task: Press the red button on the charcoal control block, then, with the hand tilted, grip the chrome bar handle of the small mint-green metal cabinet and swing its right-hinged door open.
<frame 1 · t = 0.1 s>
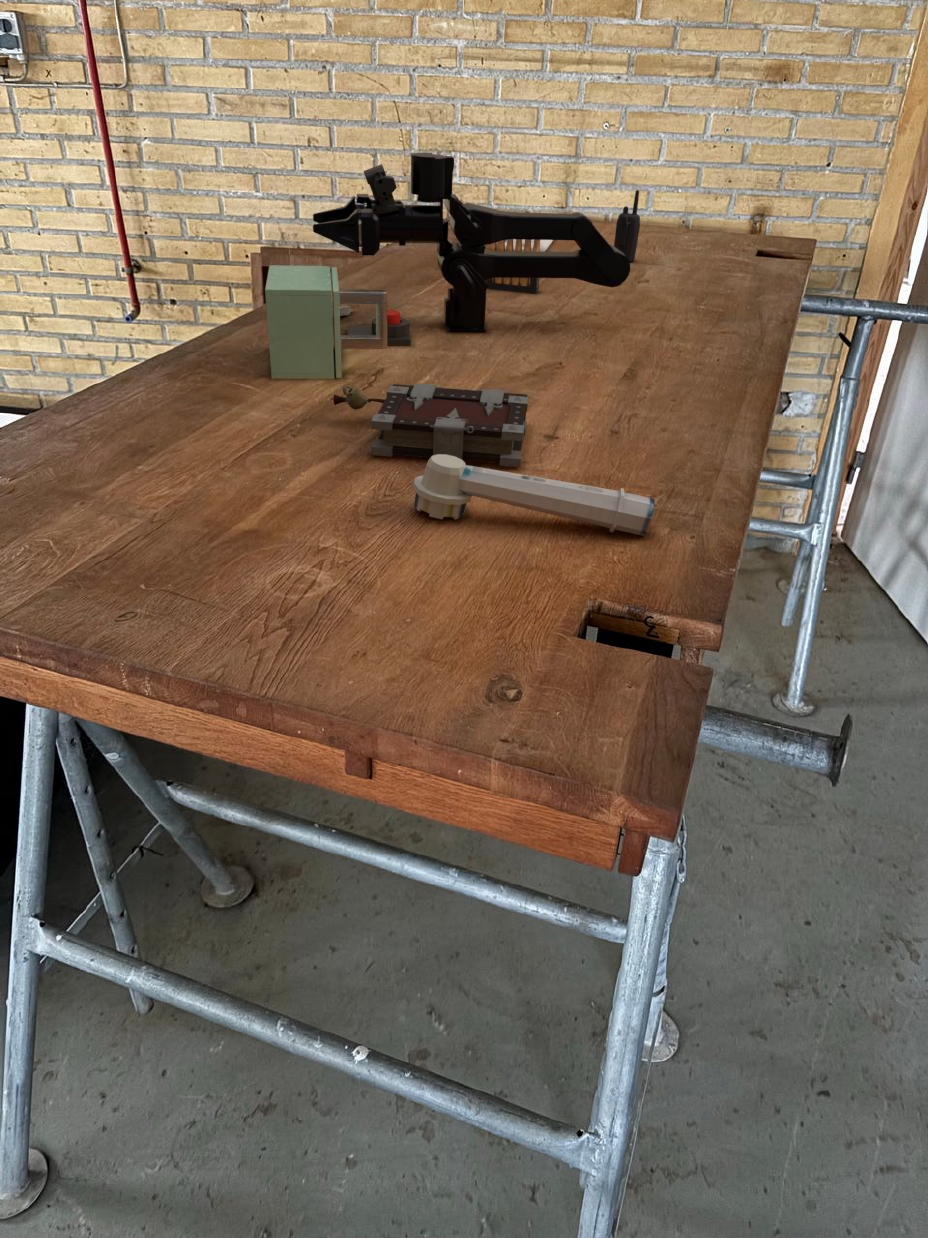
hand: (313, 222, 146), 17 cm above the table, tool horizontal, fingers open, 9 cm apart
cabinet door: (359, 321, 136), point 6 cm above the table, hinge at 0.0°
button block: (378, 339, 151), on the table
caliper: (328, 328, 155), on the table
release button: (390, 317, 149), point 3 cm above the table, slide at 0.1 cm
toothbrush head: (529, 522, 98), on the table
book: (425, 440, 116), on the table
two-way radio: (622, 261, 210), on the table
cabinet: (303, 363, 139), on the table
ammunition clip: (511, 290, 183), on the table
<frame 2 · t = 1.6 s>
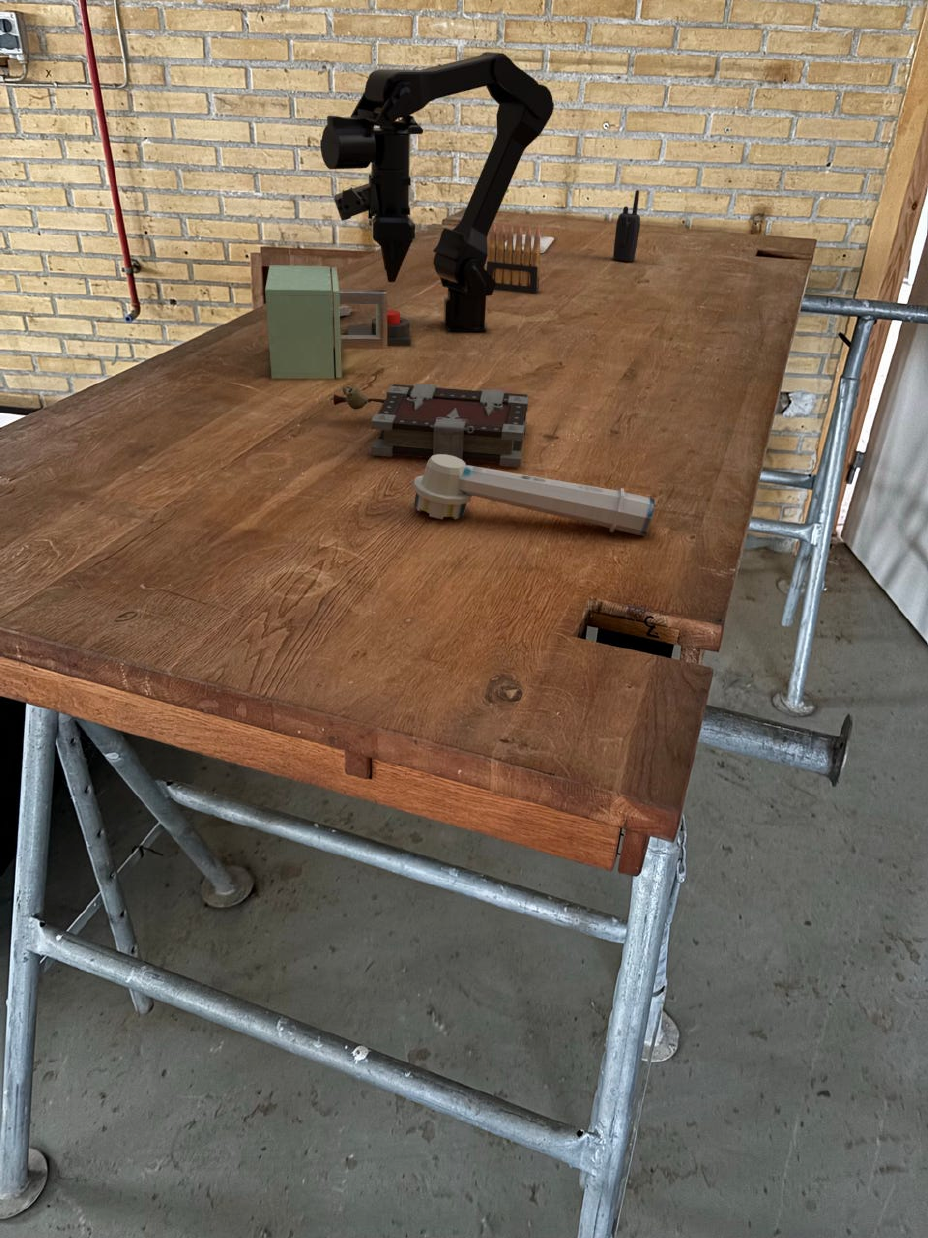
hand: (389, 275, 145), 10 cm above the table, tool pointing down, fingers open, 8 cm apart
nothing on the table moved.
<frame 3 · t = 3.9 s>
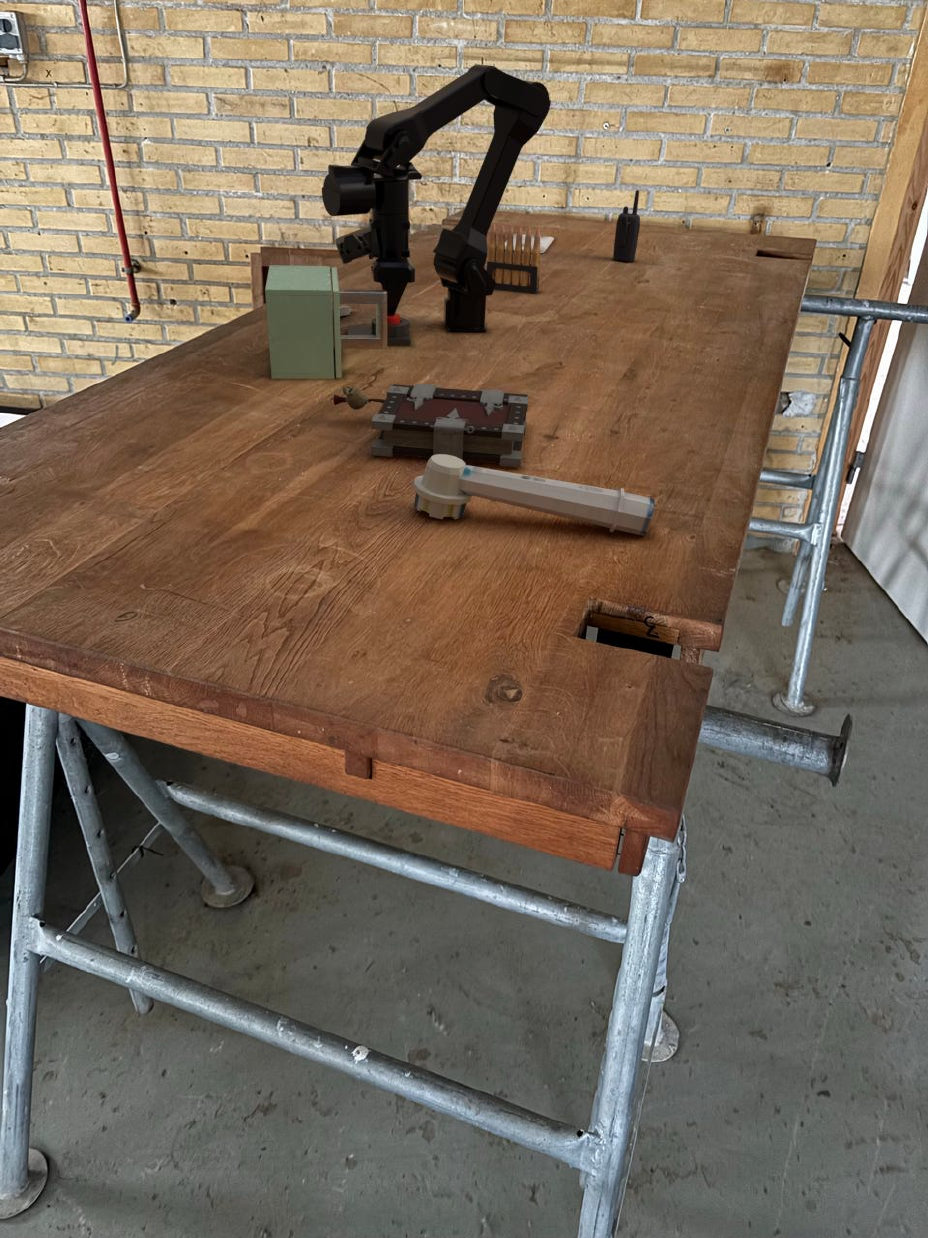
hand: (390, 315, 149), 4 cm above the table, tool pointing down, fingers closed, pressing on release button
release button: (390, 320, 149), point 3 cm above the table, slide at -0.3 cm, touching gripper
everything else where it was.
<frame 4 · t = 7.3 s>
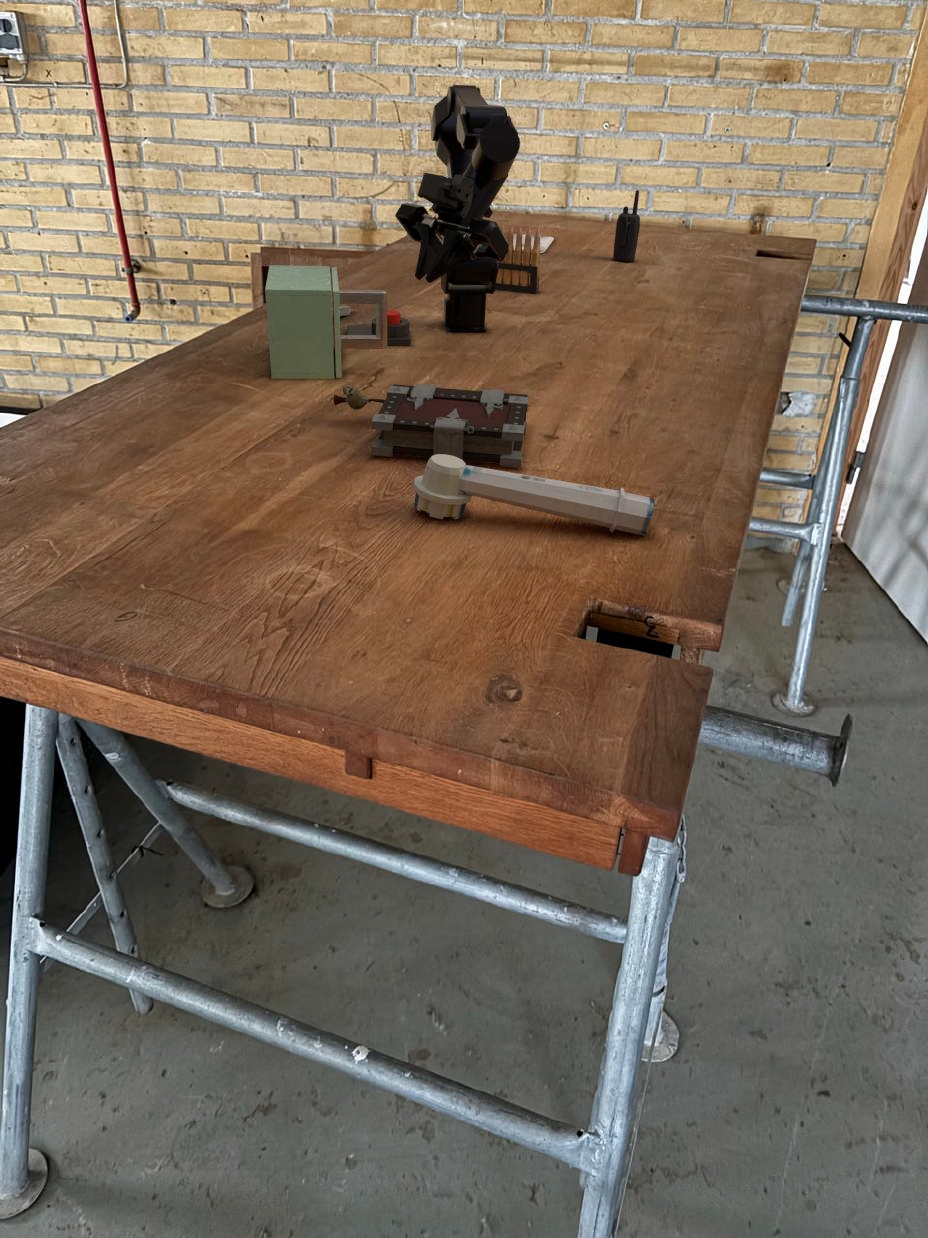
hand: (422, 279, 134), 13 cm above the table, tool tilted 45°, fingers closed
release button: (390, 317, 149), point 3 cm above the table, slide at 0.1 cm
everything else where it was.
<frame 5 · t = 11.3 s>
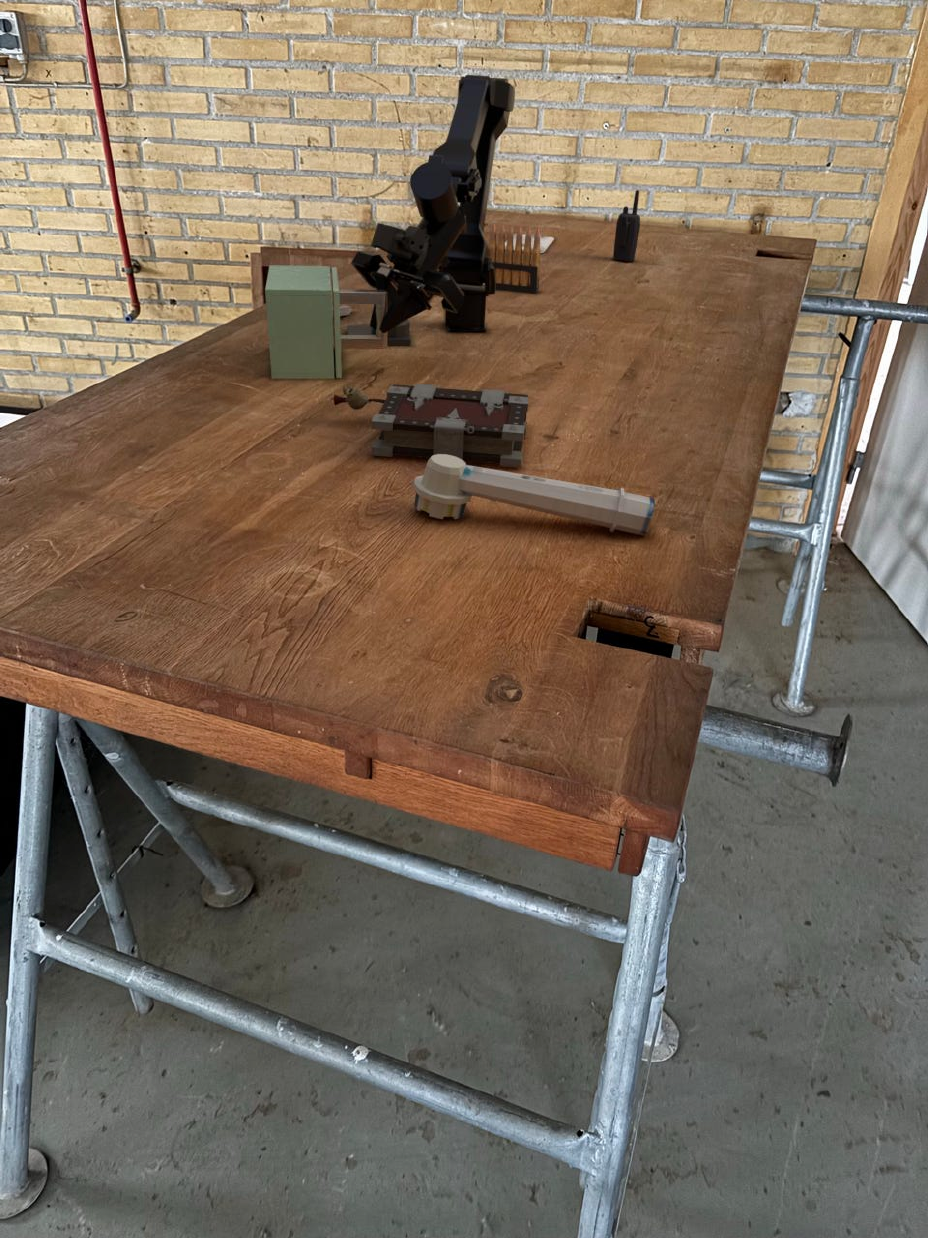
hand: (376, 329, 131), 7 cm above the table, tool tilted 45°, fingers closed on cabinet door, 2 cm apart
cabinet door: (359, 321, 136), point 6 cm above the table, hinge at 0.1°, touching gripper
everything else where it was.
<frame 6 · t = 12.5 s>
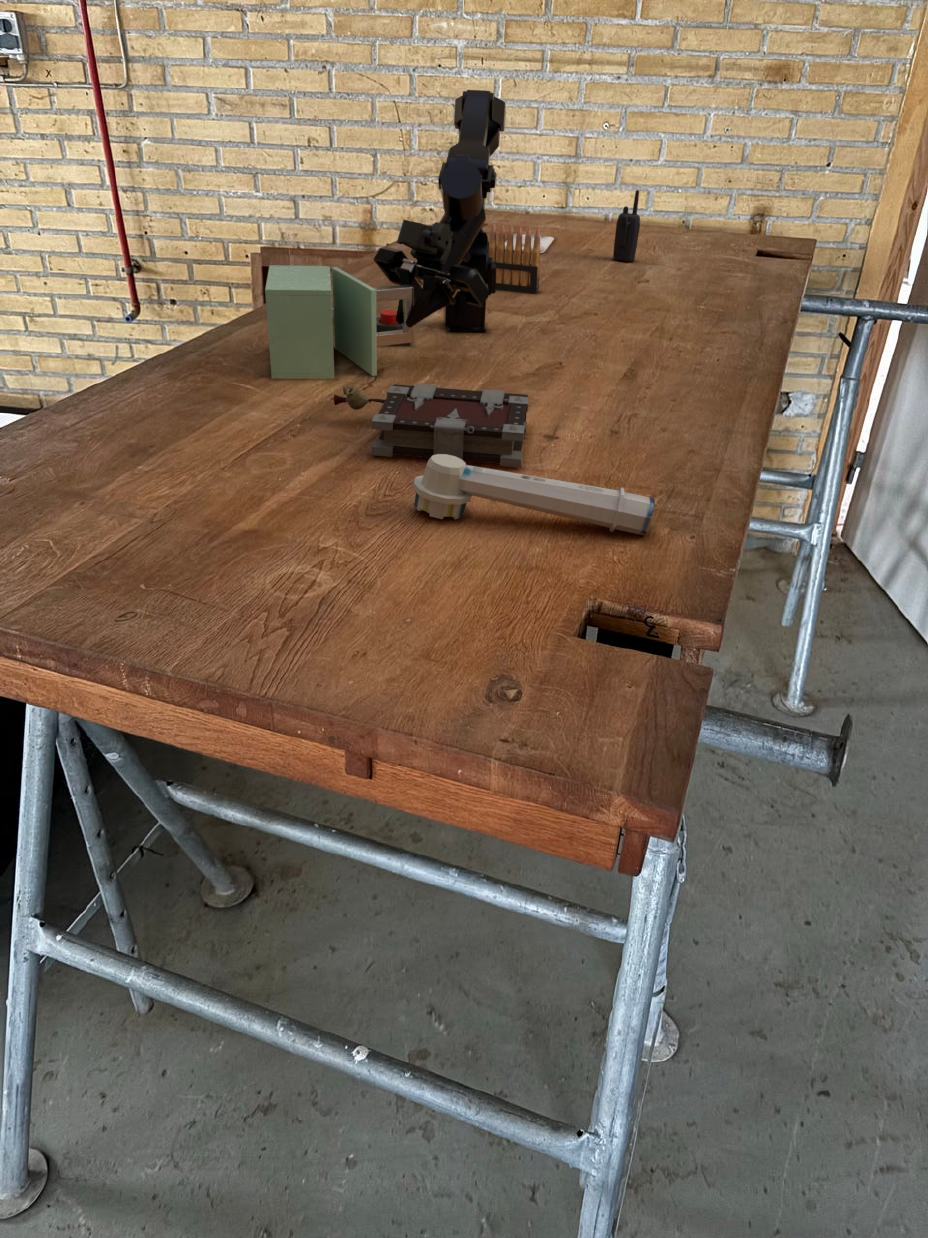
hand: (402, 324, 134), 7 cm above the table, tool tilted 45°, fingers closed on cabinet door, 2 cm apart
cabinet door: (374, 318, 138), point 6 cm above the table, hinge at 21.2°, touching gripper
everything else where it was.
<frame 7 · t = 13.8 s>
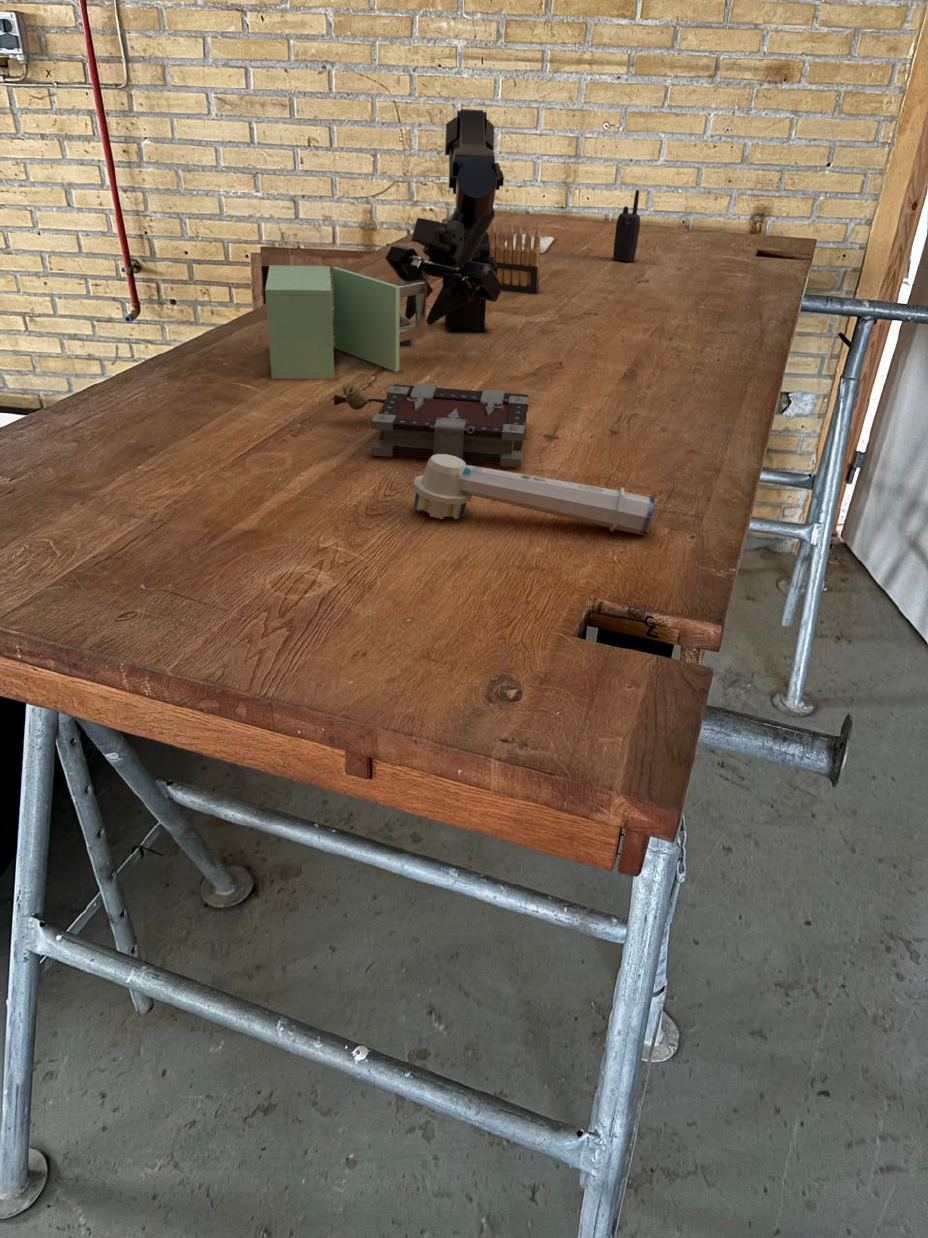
hand: (417, 320, 137), 7 cm above the table, tool tilted 45°, fingers open, 4 cm apart
cabinet door: (382, 315, 140), point 6 cm above the table, hinge at 37.0°
everything else where it was.
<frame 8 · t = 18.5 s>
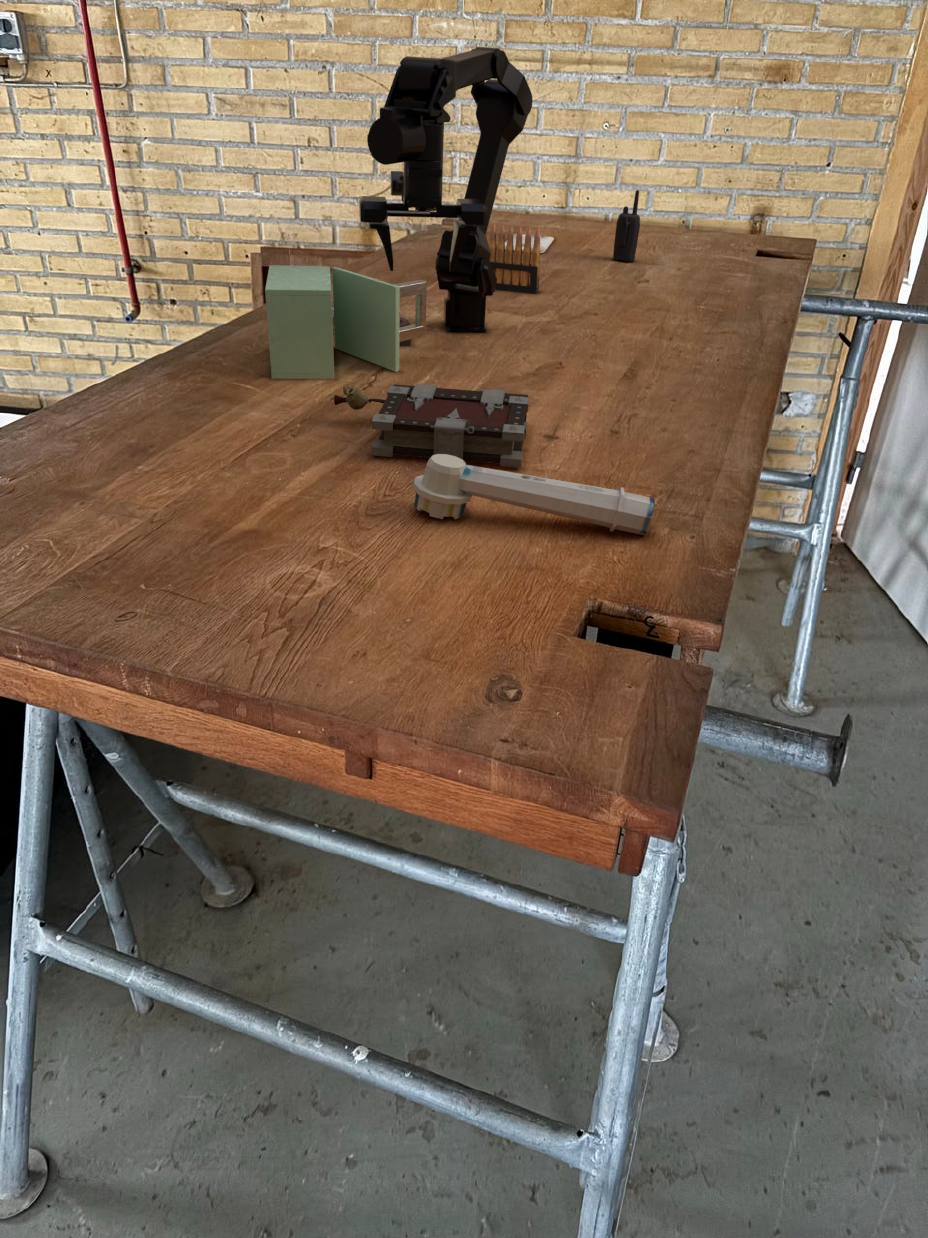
hand: (421, 270, 141), 12 cm above the table, tool pointing down, fingers open, 9 cm apart
nothing on the table moved.
at the end: release button pushed in 1.2 cm at the most during the clip, back to where it started at the end; release button slide at 0.1 cm; cabinet door at +37° (first picture: +0°) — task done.
